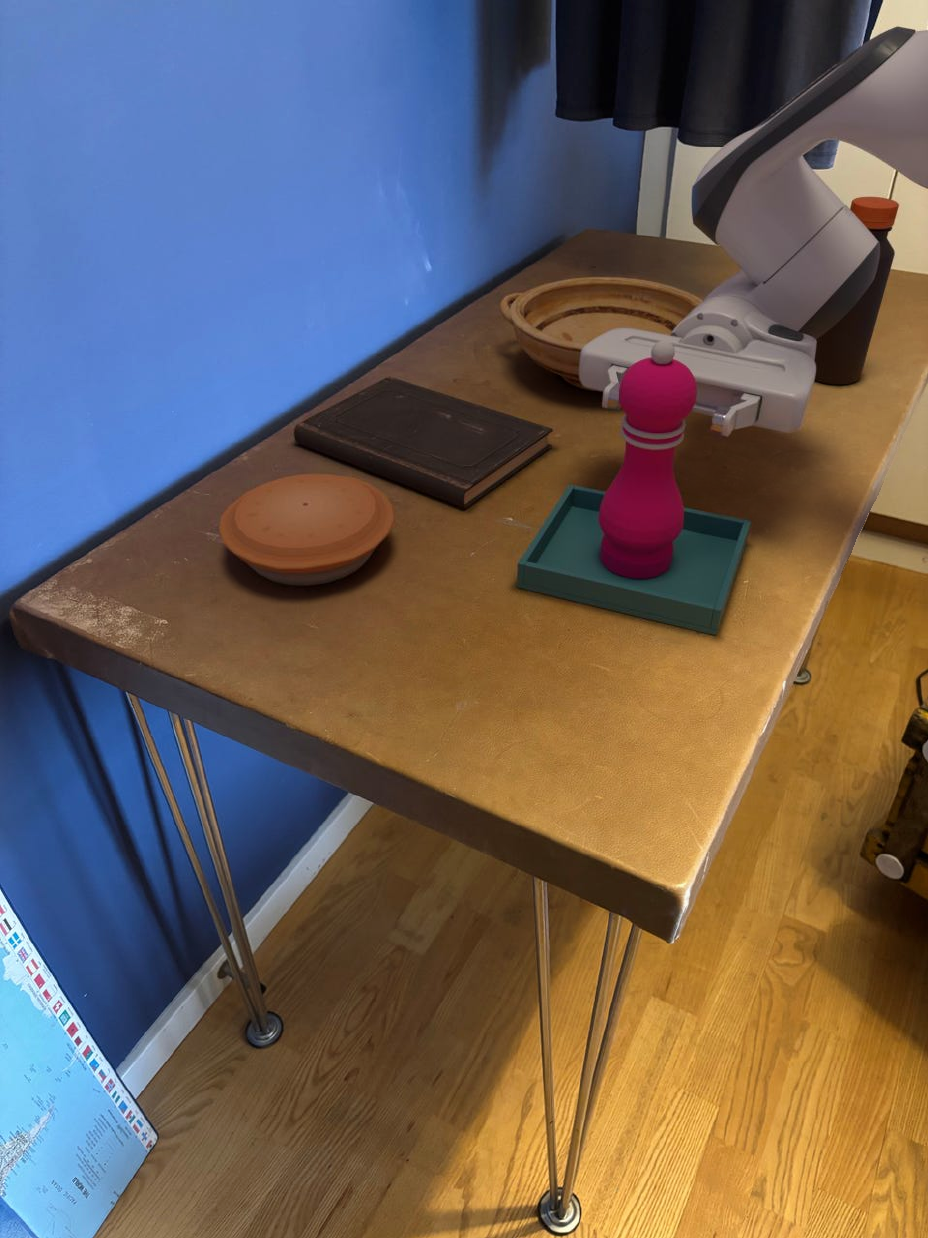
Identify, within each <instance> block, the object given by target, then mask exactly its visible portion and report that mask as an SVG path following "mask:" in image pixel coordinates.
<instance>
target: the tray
mask: <svg viewBox="0 0 928 1238" xmlns="http://www.w3.org/2000/svg"><path fill="white" fill-rule="evenodd" d="M605 493H606V491H604V490H599V489H594V488H590V487H585V486H579V485H574V484H568V486H567V487H566V489H565V490H564V492H563V494H562V495H561V496H560V498H559V500H558V501H557V503H555V505H554V507H553V508H552V510H551V512H550V513H549V514H548V516H547V518H546V519H545V521H544V522H543V524H542V526H541V527H540V528H539V530H538V532H537V533H536V535H535V536H534V538H533V539H532V541H531V542H530V544H529V545H528V546H527V548H526V550H525V551H524V553H523V554H522V556H521V557H520V558H519V560H518V562H517V572H516V573H517V574H516V575H517V576H516V577H517V578H516V588H518V589H522V590H526V591H530V592H535V593H538V594H543V595H547V596H550V597H555V598H560V599H564V600H568V601H571V602H576V603H581V604H584V605H589V606H592V607H595V608H599V609H604V610H608V611H613V612H617V613H622V614H625V615H629V616H634V617H638V618H642V619H646V620H650V621H654V622H659V623H662V624H666V625H671V626H675V627H679V628H683V629H687V630H691V631H695V632H699V633H703V634H707V635H712V636H717V635H718V632H719V629H720V625H721V622H722V619H723V616H724V613H725V610H726V608H727V603H728V602H729V597H730V594H731V592H732V589H733V586H734V583H735V580H736V577H737V574H738V573H737V572H738V570H739V567H740V564H741V561H742V559H743V555H744V552H745V549H746V546H747V542H748V537H749V534H750V528H751V524H752V521H751V520H749V519H744V518H738V517H732V516H729V515H723V514H718V513H713V512H708V511H704V510H698V509H693V508H688V507H684V506H683V508H684V521H683V528H682V531H681V533H680V534H679V536H678V537H677V538H676V539H675V540H674V541H673V554H672V561H671V565H670V567H669V568H668V570H666V571H665V572H664V573H663V574H661V575H659V576H656V577H653V578H648V579H633V578H627V577H624V576H620V575H618V574H616V573H614V572H612V571H610V570H609V569H608V568H606V567H605V565H604V564H603V563H602V560H601V557H600V553H601V543H602V538H603V536H604V535H605V534H604V533H603V531H602V530H601V527H600V525H599V518H598V516H599V511H600V506H601V503H602V500H603V498H604V496H605Z"/></svg>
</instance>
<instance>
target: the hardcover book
mask: <svg viewBox="0 0 928 1238" xmlns="http://www.w3.org/2000/svg"><path fill="white" fill-rule="evenodd" d="M553 431H554V430H553V428H552V427H548V426H545V425H542V424H539V423H536V422H532V421H529V420H526V419H523V418H520V417H517V416H514V415H511V414H508V413H505V412H501V411H498V410H496V409H492V408H489V407H486V406H484V405H483V406H482V405H479V404H476V403H474V402H471V401H467V400H465V399H461V398H458V397H454V396H452V395H449V394H445V393H443V392H440V391H436V390H433V389H431V388H430V389H429V388H426V387H424V386H420V385H418V384H415V383H412V382H408V381H405V380H402V379H398V378H395V377H393V376H386V377H384V378H383V379H380V380H379V381H377V382H375V383H373V384H371V385H369V386H367V387H366V388H364V389H362V390H359V391H358V392H356V393H354V394H352V395H350V396H349V397H346V398H343V399H342V400H340V401H339V402H337V403H335V404H332V405H331V406H329V407H327V408H325V409H323V410H322V411H319V412H318V413H316V414H314V415H312V416H310V417H308V418H306V419H304V420H302V421H300V422H298V423H297V424H296V425H295V426H294V429H293V437H294V441H295V443H297V444H299V445H302V446H304V447H306V448H309V449H312V450H314V451H317V452H320V453H322V454H325V455H327V456H330V457H332V458H334V459H338V460H340V461H343V462H345V463H348V464H350V465H353V466H355V467H357V468H360V469H362V470H365V471H368V472H370V473H374V474H376V475H378V476H381V477H384V478H386V479H389V480H391V481H394V482H396V483H398V484H401V485H404V486H406V487H409V488H412V489H414V490H416V491H419V492H422V493H425V494H426V495H429V496H432V497H435V498H437V499H440V500H442V501H444V502H448V503H450V504H452V505H455V506H458V507H460V508H463V509H468V508H469V507H471V506H472V505H474V504H475V503H477V502H478V501H479V500H481V499H482V498H484V497H485V496H486V495H488V494H489V493H490V492H492V491H493V490H495V489H496V488H497V487H499V486H500V485H502V484H503V483H504V482H505V481H507V480H509V479H510V478H511V477H513V476H514V475H515V474H516V473H518V472H520V471H521V470H522V469H524V468H525V467H527V466H528V465H530V464H531V463H533V461H535V460H536V459H538V458H539V457H540V456H542V455H543V454H544V453H546V452H548V450H550V449H552V448H553V447H552V446H553V445H552V444H549V435H550V434H551V433H553Z"/></svg>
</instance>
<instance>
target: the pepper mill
mask: <svg viewBox="0 0 928 1238" xmlns="http://www.w3.org/2000/svg"><path fill="white" fill-rule="evenodd" d="M674 355H675V349H674V346H673V345H672V344H671V343H670V342H668V341H665V340H663V341H659V342H657V343H655V345H654V346H653V347H652V350H651V356H652V357H650V358H645V359H642V360H640V361H638V362H636V363H635V364H633V365H632V366H631V367H630V368H629V369H628V370H627V371H626V372H625V374H624V376H623V378H622V380H621V383H620V387H619V402H620V406H621V408H620V409H622V411H623V412H624V413H625V414H624V415H623V416H622V418H621V425H622V427H621V429H620V436H621V437H622V439H623V440H624V441H625V450H624V457H623V461H622V464H621V467H620V469H619V471H618V472H617V474H616V476H615V477H614V479H613V480H612V482H611V484H610V485H609V486H608V488H607V490H606V491H605V492H606V493H605V496H604V498H603V500H602V503H601V506H600V511H599V516H598V518H599V525H600V527H601V530H602V531H603V533H604V534H605V535H604V536H603V538H602V543H601V553H600V557H601V560H602V563H603V564H604V565H605V567H606V568H608V569H609V570H610V571H612V572H614V573H616V574H618V575H620V576H624V577H627V578H633V579H648V578H653V577H656V576H659V575H661V574H663V573H664V572H665V571H666V570H668V568H669V567H670V565H671V561H672V554H673V541H674V540H675V539H676V538H677V537H678V536H679V534H680V533H681V531H682V528H683V521H684V508H685V507H684V502H683V498H682V495H681V492H680V489H679V486H678V484H677V482H676V478H675V473H674V460H675V459H674V458H675V452H676V449H677V446H678V445H680V444H681V443H682V442H683V440H684V438H685V434H684V433H685V432H684V431H685V429H686V426H687V425H686V421H685V418H686V417H688V416H689V415H690V413H691V410H692V409H693V407H694V405H695V402H696V397H697V385H696V381H695V378H694V376H693V374H692V372H691V371H690V369H689V368H688V367H687V366H686V365H684V364H683V363H681V362H679V361H678V360H675V359H673V357H674ZM683 507H684V508H683Z"/></svg>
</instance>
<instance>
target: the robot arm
mask: <svg viewBox="0 0 928 1238" xmlns="http://www.w3.org/2000/svg"><path fill="white" fill-rule="evenodd" d="M830 140H833V141H839V142H843V143H847V144H849V145H851V146H853V147H856V148H858V149H860V150H863V151H864V152H866V153H868V154H869V155H871V156H873V157H875V158H876V159H878V160H880V161H881V162H883V163H884V164H886V165H887V166H889V167H891V168H892V169H893V170H895V171H896V172H898V173H900V175H902V176H903V177H904V178H906V179H908V180H909V181H911V182H912V183H914V184H916V185H918V186H919V187H922V188H925V189H927V190H928V29H926V30H916V29H914V28H908V27H903V26H899V25H898V26H897V25H896V26H895V27H892V28H890V29H887V30H885V31H883V32H881V33H879V34H877V35H876V36H874V37H872V38H871V39H868V40H867V41H866V42H864V43H863V44H861V45H860V46H859V47H858V48H856V49H855V50H853V51H852V52H850V53H849V54H848V55H847V56H845V57H843V58H842V59H841V60H840V61H838V62H837V63H835V64H834V65H833V66H832V67H830V68H829V69H828V70H826V71H825V72H824V73H823V74H821V75H820V76H818V77H817V78H816V79H815V80H814V81H812V82H811V83H810V84H808V85H807V86H805V87H804V89H803V90H801V91H800V92H798V93H797V94H796V95H794V96H793V97H792V98H791V99H790V100H788V101H787V102H786V103H785V104H783V105H782V106H781V107H780V108H778V109H777V110H776V111H775V112H773V113H772V114H771V115H769V116H768V117H767V118H766V119H764V120H763V121H761V122H760V123H758V124H757V125H756V126H754V127H753V128H752V129H750V130H748V131H745V132H743V133H742V134H739V135H738V136H736V137H734V138H733V139H731V140H730V141H729V142H727V143H725V144H724V145H723V146H722V147H721V148H720V149H719V150H718V151H716V152H715V154H713V155H712V156H711V158H710V159H709V160H708V161H707V163H706V164H705V165H703V168H702V169H701V171H700V172H699V174H698V175H697V178H696V179H695V182H694V184H693V185H692V187H691V217H692V218H691V219H692V225H694V226H695V227H696V228H697V229H698V230H699V231H700V232H701V233H703V235H705V236H706V237H707V238H708V239H709V240H711V241H712V242H713V243H714V244H715V245H716V246H719V247H720V248H721V250H723V252H724V253H725V254H726V255H727V256H728V257H729V258H730V259H731V260H732V261H733V262H734V264H736V265H737V267H739V269H740V270H739V271H737V272H736V273H734V274H732V275H731V276H729V277H728V278H726V279H725V280H723V281H722V282H720V283H719V284H718V285H717V286H716V287H715V288H714V289H712V290H711V291H710V292H709V293H708V294H707V295H706V296H705V297H704V300H703V302H702V303H700V304H699V305H698V306H696V307H695V308H694V309H693V310H692V311H691V312H690V313H689V314H688V315H687V316H686V317H685V318H684V319H683V320H682V321H681V322H680V323H679V324H678V325H677V326H676V327H675V328H674V330H673V331H672V333H671V334H670V335H665V334H660V333H655V332H650V331H645V330H640V329H634V328H616V329H612V330H610V331H608V332H606V333H604V334H602V335H600V336H598V337H597V338H595V339H593V340H592V341H590V342H589V343H587V344H586V345H585V346H584V347H583V348H582V350H581V354H580V361H579V380H580V382H581V383H582V385H583V386H584V387H586V388H590V389H594V390H599V391H603V392H602V401H601V407H602V408H604V409H608V410H613V411H618V412H620V411H621V409H622V408H621V406H620V402H619V387H620V383H621V380H622V378H623V376H624V374H625V372H626V371H627V370H628V369H629V368H630V367H631V366H632V365H633V364H635V363H636V362H638V361H640V360H642V359H645V358H650V357H652V356H651V350H652V347H653V346H654V345H655V343H657V342H659V341H663V340H665V341H668V342H670V343H671V344H672V345H673V346H674V349H675V355H674V357H673V359H675V360H678V361H679V362H681V363H683V364H684V365H686V366H687V367H688V368H689V369H690V371H691V372H692V374H693V376H694V378H695V381H696V385H697V397H696V402H695V405H694V407H693V409H692V410H691V412H692V413H696V414H699V415H705V416H709V417H711V421H710V422H711V425H710V427H709V433H712V434H715V435H719V436H723V437H729V436H730V435H731V433H732V432H733V431H736V430H739V429H744V428H748V427H757V428H761V429H766V430H771V431H775V432H777V433H781V434H782V433H783V434H788V433H795V432H799V431H800V430H801V429H802V427H803V425H804V423H805V419H806V416H807V412H808V408H809V404H810V401H811V396H812V392H813V389H814V388H813V387H814V383H815V381H816V380H815V375H816V364H815V362H814V360H815V353H816V343H817V341H816V339H817V338H819V337H820V336H822V335H823V334H824V333H826V332H827V331H828V330H830V329H831V328H832V327H833V326H834V325H835V324H837V323H838V322H839V321H840V320H841V319H842V318H843V317H844V316H845V315H846V314H847V313H848V312H849V311H850V310H851V309H852V308H853V306H854V305H855V304H856V303H857V302H858V301H859V299H860V298H861V297H862V295H863V294H864V293H865V291H866V290H867V289H868V287H869V286H870V285H871V283H872V282H873V280H874V278H875V275H876V271H877V267H878V263H879V257H880V243H879V241H877V239H876V238H875V237H874V236H873V234H872V233H871V232H870V231H869V230H868V229H867V228H866V226H865V225H864V224H863V223H862V222H861V221H860V220H859V219H858V218H857V216H856V215H855V214H854V213H853V212H852V211H851V210H850V207H849V206H848V205H847V204H845V203H844V202H843V201H842V200H841V198H839V196H838V195H836V194H835V193H836V192H834V191H833V189H831V188H830V186H828V184H826V182H825V181H824V180H823V179H822V178H821V177H820V175H818V174H817V173H816V172H815V170H814V169H813V168H812V167H811V166H810V165H809V163H808V162H807V161H806V159H805V158H804V155H805V154H806V153H808V152H810V151H811V150H813V149H814V148H815V147H817V146H818V145H820V144H821V143H824V142H825V141H830ZM599 391H598V392H599ZM691 412H690V413H691Z"/></svg>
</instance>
